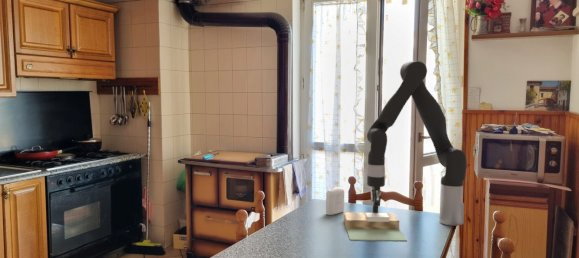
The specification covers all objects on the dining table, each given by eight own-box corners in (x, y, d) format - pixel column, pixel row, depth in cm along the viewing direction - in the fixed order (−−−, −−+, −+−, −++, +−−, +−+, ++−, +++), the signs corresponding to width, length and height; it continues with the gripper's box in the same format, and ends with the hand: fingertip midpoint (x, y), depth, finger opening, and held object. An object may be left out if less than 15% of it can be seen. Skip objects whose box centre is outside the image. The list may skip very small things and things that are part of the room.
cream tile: (386, 217, 187) (386, 213, 186) (389, 221, 181) (389, 217, 180) (365, 217, 187) (365, 212, 187) (367, 221, 181) (367, 216, 181)
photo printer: (338, 210, 213) (338, 185, 212) (345, 211, 210) (345, 186, 209) (324, 214, 206) (324, 188, 205) (331, 216, 203) (331, 189, 202)
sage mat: (399, 230, 182) (399, 229, 182) (406, 241, 169) (406, 240, 169) (346, 229, 183) (346, 228, 183) (350, 240, 170) (350, 239, 170)
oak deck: (393, 221, 194) (393, 212, 194) (399, 230, 182) (399, 220, 182) (343, 221, 195) (344, 212, 195) (346, 229, 183) (346, 220, 183)
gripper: (387, 177, 180) (386, 218, 181) (382, 171, 193) (381, 210, 195) (369, 177, 180) (368, 218, 182) (365, 171, 193) (364, 209, 195)
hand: (375, 214), depth 188 cm, fingers closed
